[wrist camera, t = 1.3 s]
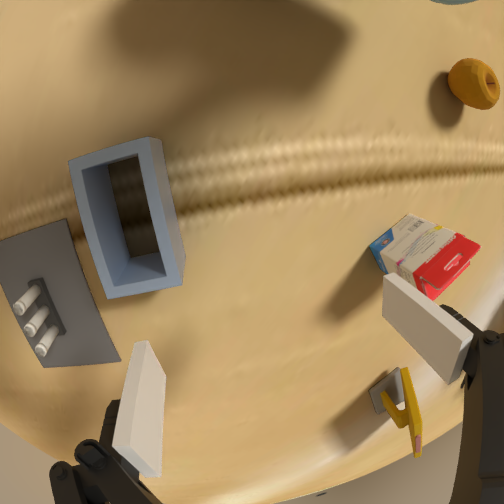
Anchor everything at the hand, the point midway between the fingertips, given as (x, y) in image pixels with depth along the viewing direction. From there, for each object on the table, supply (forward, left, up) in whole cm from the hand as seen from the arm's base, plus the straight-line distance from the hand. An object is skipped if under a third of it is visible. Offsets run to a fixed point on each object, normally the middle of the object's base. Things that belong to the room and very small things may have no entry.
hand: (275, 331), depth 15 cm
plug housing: (-5, -10, -21) cm, 24 cm away
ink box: (+6, +23, -21) cm, 32 cm away
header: (+5, -28, -21) cm, 36 cm away
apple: (-18, +39, -21) cm, 48 cm away
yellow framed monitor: (+41, +26, -21) cm, 53 cm away
